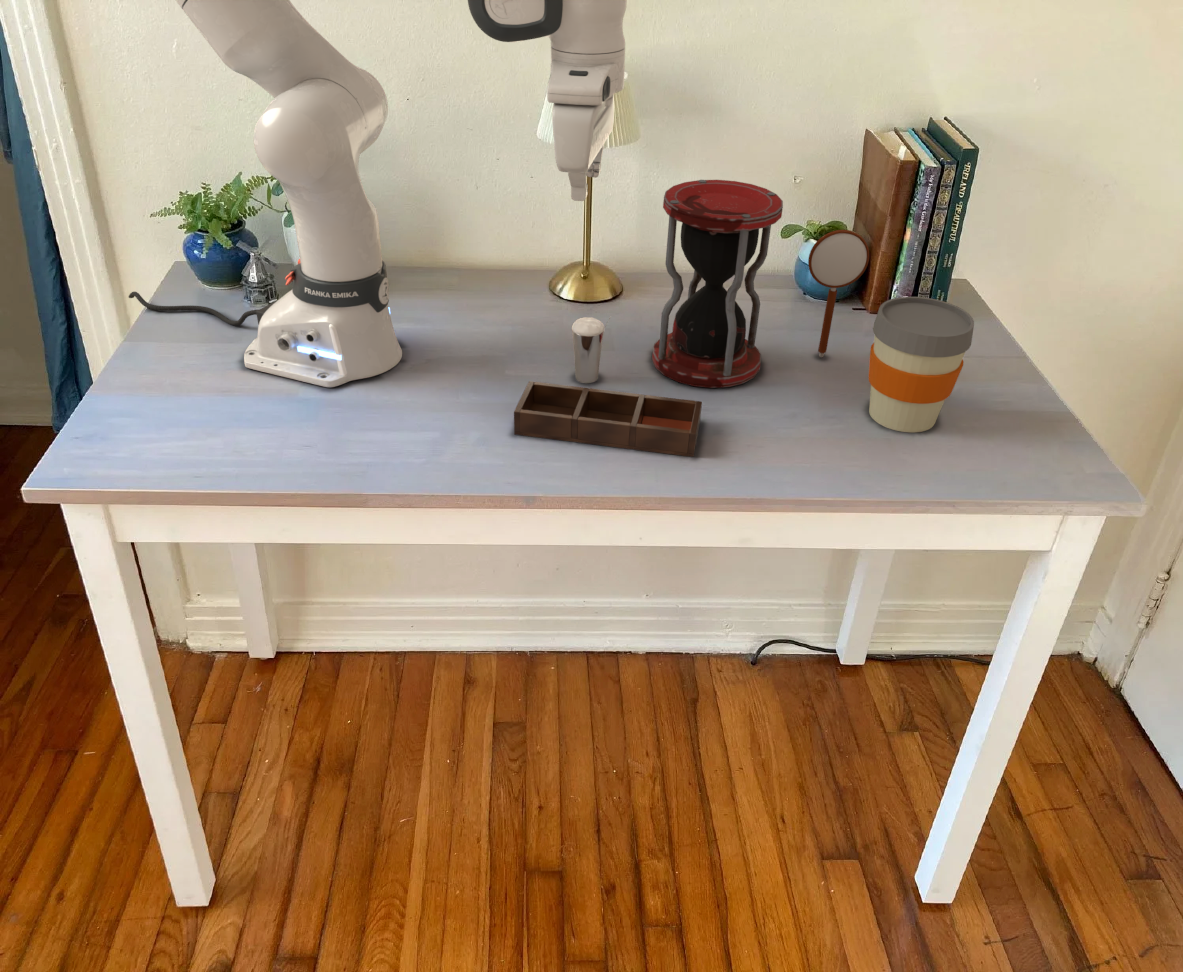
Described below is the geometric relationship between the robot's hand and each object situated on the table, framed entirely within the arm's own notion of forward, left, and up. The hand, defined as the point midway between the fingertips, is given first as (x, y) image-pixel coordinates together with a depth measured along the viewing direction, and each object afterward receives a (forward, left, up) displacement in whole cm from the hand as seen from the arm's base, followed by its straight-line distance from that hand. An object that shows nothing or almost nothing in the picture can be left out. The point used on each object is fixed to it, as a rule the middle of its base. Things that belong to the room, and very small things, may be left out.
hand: (586, 187), depth 128 cm
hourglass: (+17, +10, -28) cm, 34 cm away
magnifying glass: (+34, +16, -28) cm, 47 cm away
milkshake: (+1, +1, -28) cm, 28 cm away
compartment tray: (+6, -12, -28) cm, 31 cm away
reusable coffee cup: (+45, +1, -28) cm, 53 cm away
